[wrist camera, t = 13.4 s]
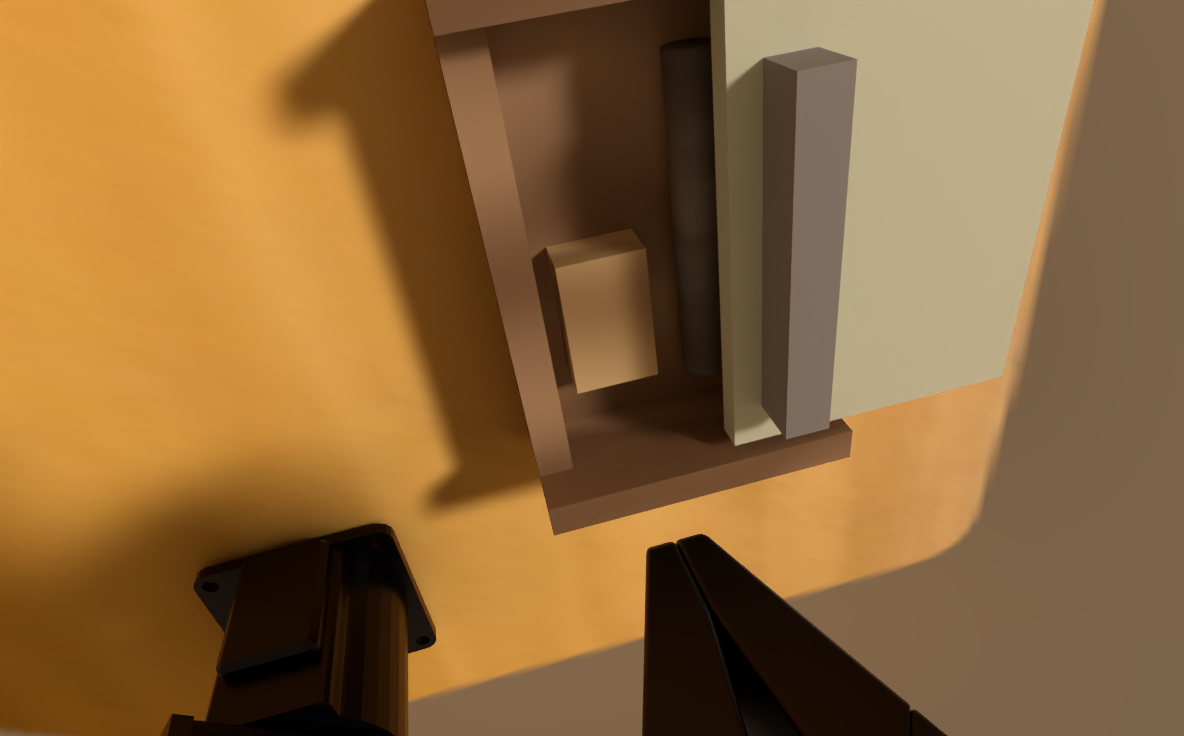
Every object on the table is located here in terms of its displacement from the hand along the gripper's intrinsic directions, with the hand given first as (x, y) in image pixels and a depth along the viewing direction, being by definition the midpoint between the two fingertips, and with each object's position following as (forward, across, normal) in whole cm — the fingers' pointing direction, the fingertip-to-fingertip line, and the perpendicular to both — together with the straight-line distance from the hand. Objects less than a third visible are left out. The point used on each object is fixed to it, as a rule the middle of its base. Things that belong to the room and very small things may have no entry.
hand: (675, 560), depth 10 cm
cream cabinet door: (+9, -8, 0) cm, 12 cm away
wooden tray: (+12, -3, 0) cm, 12 cm away
